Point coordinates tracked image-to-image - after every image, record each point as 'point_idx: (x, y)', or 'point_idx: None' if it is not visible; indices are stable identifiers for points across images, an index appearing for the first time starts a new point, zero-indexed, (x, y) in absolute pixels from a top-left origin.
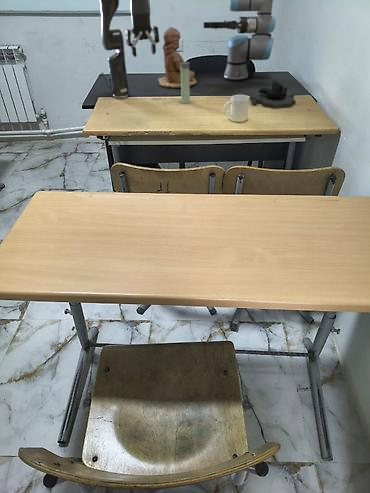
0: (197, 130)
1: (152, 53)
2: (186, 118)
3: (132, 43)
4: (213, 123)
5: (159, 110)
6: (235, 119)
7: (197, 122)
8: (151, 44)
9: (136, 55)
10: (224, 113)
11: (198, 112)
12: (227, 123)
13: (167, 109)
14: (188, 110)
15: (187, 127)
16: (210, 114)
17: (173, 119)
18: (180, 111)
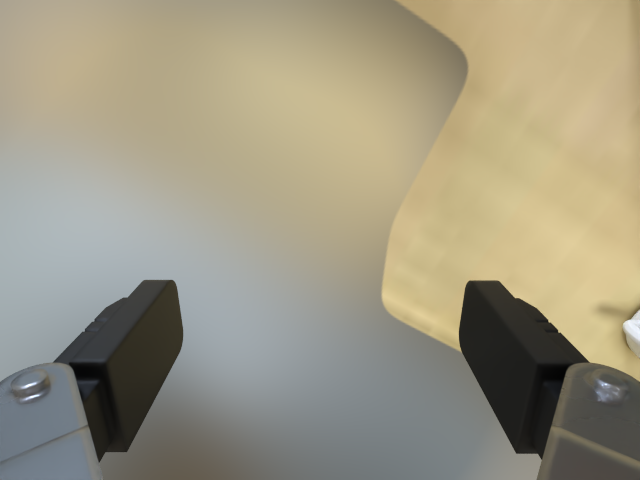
0: (449, 338)
1: (465, 312)
2: (489, 204)
3: (25, 436)
4: (547, 310)
5: (435, 9)
6: (632, 349)
7: (500, 270)
8: (532, 388)
9: (176, 354)
10: (623, 330)
11: (589, 161)
12: (592, 335)
13: (483, 19)
14: (568, 104)
15: (433, 296)
16: (614, 215)
17: (430, 184)
18: (524, 95)
